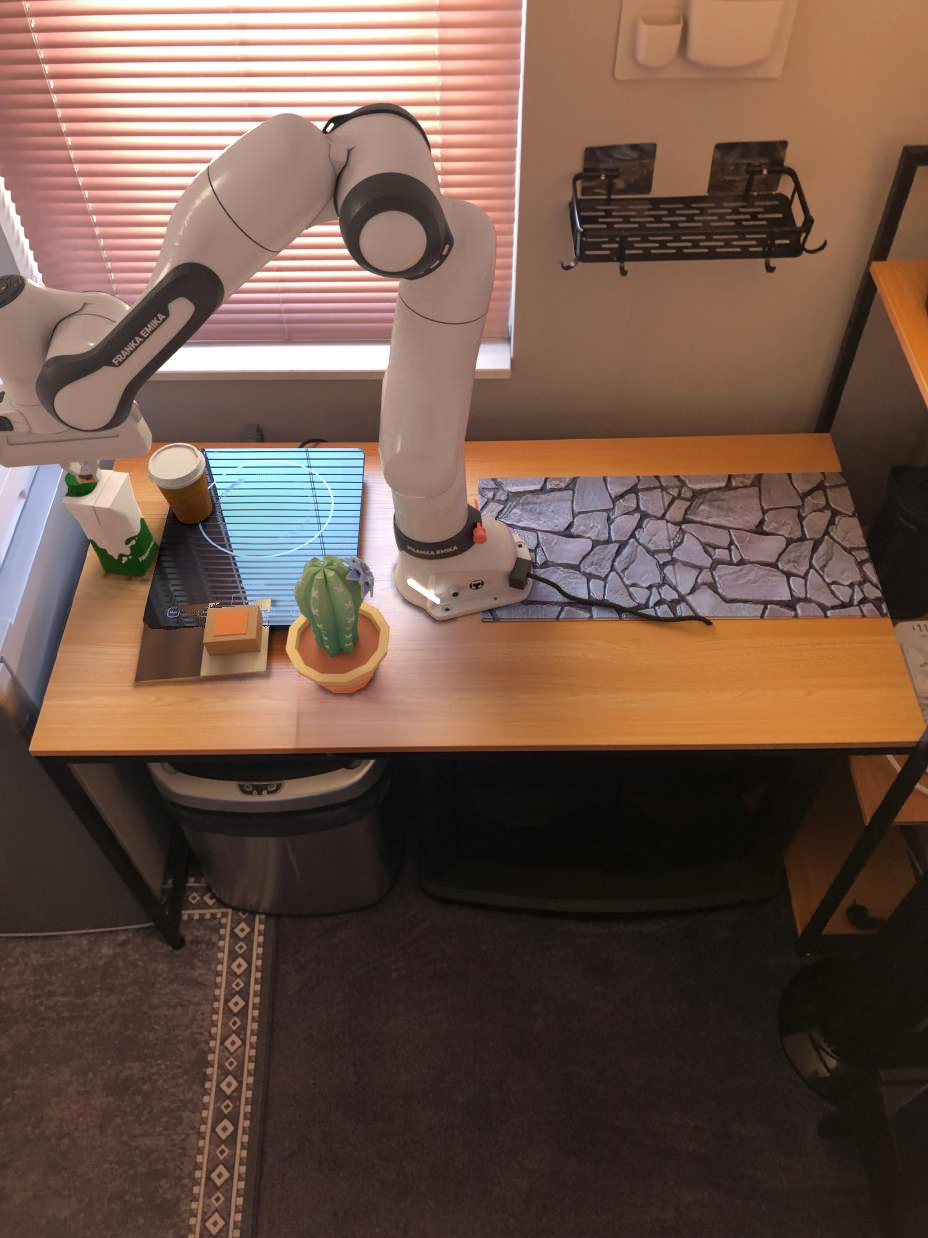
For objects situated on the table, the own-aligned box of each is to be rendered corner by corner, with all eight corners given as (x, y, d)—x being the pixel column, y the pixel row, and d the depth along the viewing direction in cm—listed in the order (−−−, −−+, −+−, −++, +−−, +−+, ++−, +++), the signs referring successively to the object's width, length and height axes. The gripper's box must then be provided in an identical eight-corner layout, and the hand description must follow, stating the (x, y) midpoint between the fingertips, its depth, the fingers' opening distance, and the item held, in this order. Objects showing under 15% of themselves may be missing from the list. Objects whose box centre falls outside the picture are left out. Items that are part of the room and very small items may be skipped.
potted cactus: (376, 722, 139) (352, 621, 119) (279, 699, 142) (240, 596, 122) (409, 639, 147) (392, 531, 127) (318, 618, 150) (287, 510, 130)
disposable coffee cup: (216, 530, 163) (197, 480, 153) (162, 531, 163) (139, 481, 154) (225, 490, 169) (207, 439, 159) (172, 491, 169) (151, 441, 159)
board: (272, 602, 153) (271, 598, 152) (267, 675, 144) (265, 670, 144) (149, 612, 153) (146, 608, 152) (137, 685, 144) (134, 681, 144)
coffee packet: (263, 617, 150) (258, 604, 147) (260, 651, 146) (255, 638, 143) (213, 621, 150) (207, 608, 147) (208, 655, 146) (202, 642, 143)
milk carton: (120, 540, 163) (76, 454, 147) (169, 546, 161) (130, 460, 145) (98, 579, 158) (50, 495, 142) (148, 586, 156) (106, 501, 140)
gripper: (136, 377, 121) (169, 457, 132) (-23, 390, 121) (22, 468, 132) (129, 410, 117) (163, 489, 128) (-36, 423, 117) (12, 501, 128)
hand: (90, 479), depth 130 cm, fingers closed
